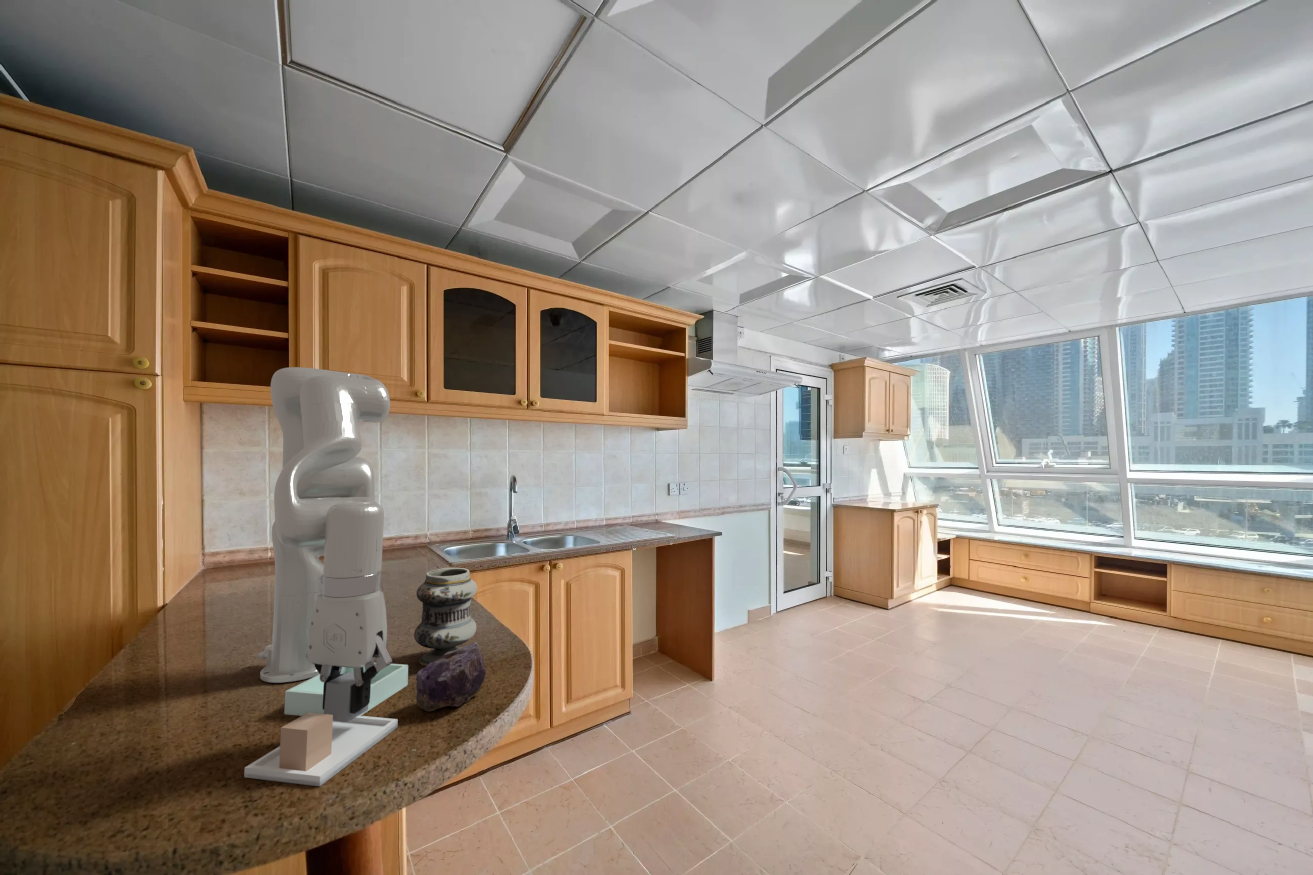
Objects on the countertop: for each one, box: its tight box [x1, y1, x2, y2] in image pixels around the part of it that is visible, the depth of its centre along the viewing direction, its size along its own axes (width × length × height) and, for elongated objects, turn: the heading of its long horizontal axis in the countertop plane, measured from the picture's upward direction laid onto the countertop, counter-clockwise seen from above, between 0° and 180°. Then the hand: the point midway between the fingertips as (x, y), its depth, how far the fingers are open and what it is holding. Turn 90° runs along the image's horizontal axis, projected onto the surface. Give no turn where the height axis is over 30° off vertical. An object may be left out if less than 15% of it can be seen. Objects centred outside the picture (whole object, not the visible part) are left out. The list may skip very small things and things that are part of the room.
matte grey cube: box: [324, 672, 368, 723], centre depth 73 cm, size 4×4×5 cm
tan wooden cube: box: [279, 713, 333, 771], centre depth 65 cm, size 4×4×5 cm
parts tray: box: [243, 715, 399, 787], centre depth 68 cm, size 11×14×1 cm
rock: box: [415, 641, 487, 712], centre depth 83 cm, size 12×9×10 cm
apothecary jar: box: [413, 567, 478, 667], centre depth 102 cm, size 12×12×18 cm
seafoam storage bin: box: [283, 662, 409, 717], centre depth 83 cm, size 13×13×4 cm
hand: (346, 705), depth 73 cm, fingers closed on matte grey cube, 3 cm apart
